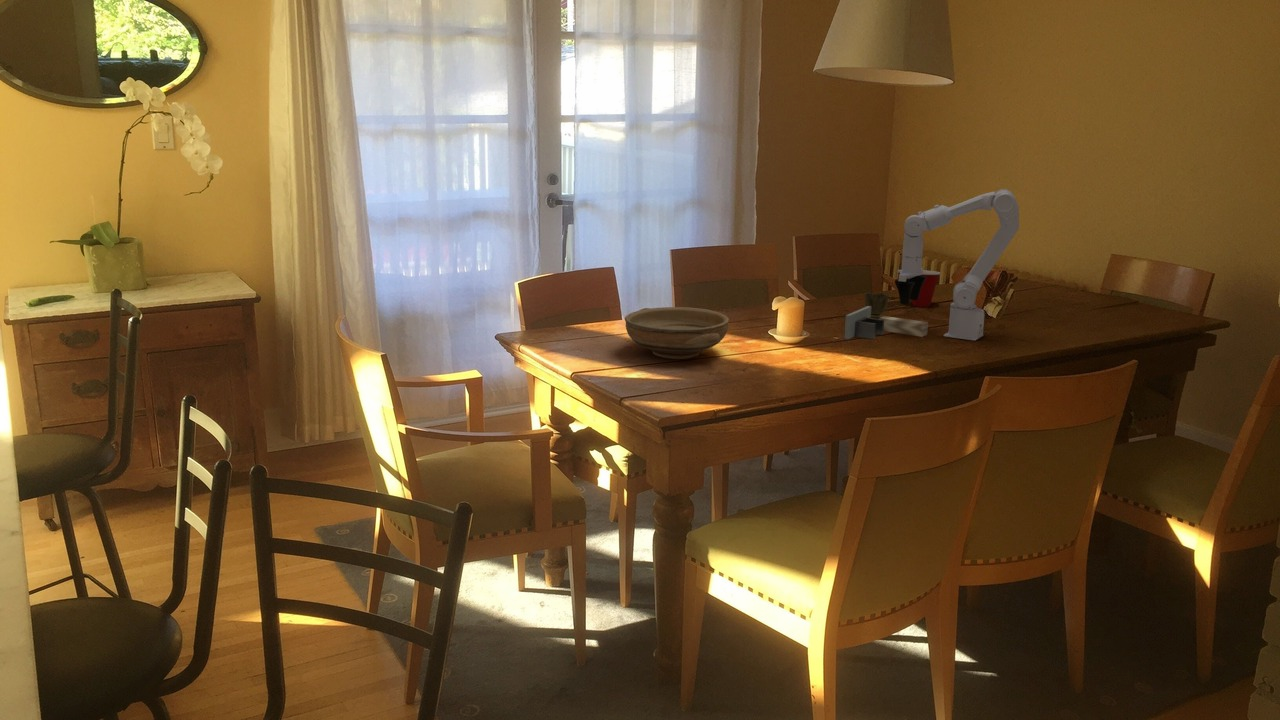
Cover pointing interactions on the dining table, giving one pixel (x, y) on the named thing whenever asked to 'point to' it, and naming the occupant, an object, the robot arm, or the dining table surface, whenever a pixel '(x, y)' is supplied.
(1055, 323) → the dining table surface
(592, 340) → the dining table surface
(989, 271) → the robot arm
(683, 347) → the ceramic bowl
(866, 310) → the backboard
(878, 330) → the bracket
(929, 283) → the plastic cup
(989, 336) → the dining table surface
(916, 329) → the rail
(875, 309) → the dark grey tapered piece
